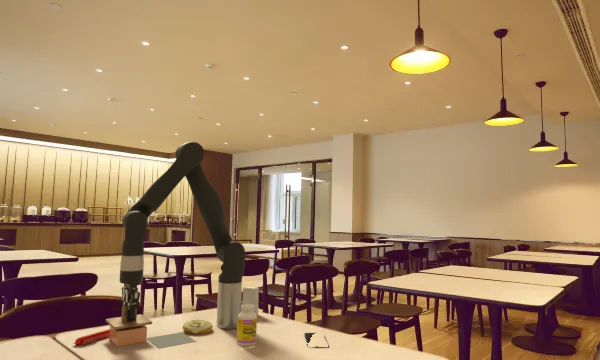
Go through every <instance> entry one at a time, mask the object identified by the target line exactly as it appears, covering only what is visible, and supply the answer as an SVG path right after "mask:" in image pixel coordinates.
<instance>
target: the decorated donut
mask: <svg viewBox="0 0 600 360" xmlns="http://www.w3.org/2000/svg"><path fill="white" fill-rule="evenodd" d="M213 328H214V327H213V323H212V322H211V321H208V320H206V319H205V320H204V319H191V320H190V321H186V322H184V323H183V324H182V329H183V333H184V334H186V335H187V334H188V335H206V334H207V335H208V334H209V333H210V332H212V331H213V330H212V329H213Z"/></svg>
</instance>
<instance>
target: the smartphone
mask: <svg viewBox="0 0 600 360" xmlns="http://www.w3.org/2000/svg"><path fill="white" fill-rule="evenodd" d="M315 333H316V332H305V333H303V336H304V335H305V336H304V339H306V340H305V343H306V342H307V343H309V342H310V340H311V339H310V338H311V337H312V335H313V334H315ZM307 346H308V344H306V347H307Z"/></svg>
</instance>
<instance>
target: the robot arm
mask: <svg viewBox="0 0 600 360" xmlns="http://www.w3.org/2000/svg"><path fill="white" fill-rule="evenodd" d="M174 156H175V157H174V158H175V160H174V161H173V163H172V164H171V166H169V168H168V169H167V170H166V171H165V172H164V173H163V174H162V175H161V176H160V177H158V178H157V179H156V180H155V181H154V182H153V183H152V184H151V185H150V187H148V189H147V190H146V191H145V192H144V193H143V194H142V196H141V198H140V199H139V200H138V201H137V202H136V203H134V205H133V206H132V207H131V208H129V210H128V211H127V212H126V213H125V214H124V216H123V218H122V225H123V227H124V228H125V230H124V231H125V232H124V240H122V241H123V242H122V247H121V259H120V268H119V279H118V280H119V283H120V284H122V285H123V284H124V286H122V287H121V301H122V305H128V315H127V320H128V321H133V320H134V319H135V309H136V308H137V309H138V307H139V302H140V298H141V297H140V296H141V292H140V291H139V288H138V284H140V283H142V282H143V280H144V268H145V260H144V257H145V256H144V254H145V239H146V233H147V227H148V218H149V217H150V216H151V215H152V213H153V214H154V212H156V211H157V210H158V209H159V208H160V207H161V206H162V204H163V203H164V202H165V201H166V199H167V198H168V197H169V196H170V195H171V193H173V191H174V190H175V189H176V187H177V186H178V184H180V183H181V181H182V180H183V179H184V178H185V179H186V180H187V184H188V185H189V189H190V191H191V194H192V196H193V198H194V200H195V204H196V206H197V208H198V211H199V213H200V215H201V218H202V220H203V222H204V223H205V224H204V225H205V226H206V228H207V231H208V232H209V234H210V237H211V241H212V244H213V247H214V251H215V253H216V257H217V258H218V260H219V261H220V262H222V271H221V273H220V274H218V279H217V280H218V283H217V285H218V286H217V303H216V304H217V309H216V327H217V328H220V329H222V330H234V329H237V322H238V314H239V313H240V312H241V311H242V310H241V305H243V300H242V294H243V288H242V287H243V276H244V274H245V265H246V263H245V262H246V249H245V246H244V245H243V243H241V242H238V241H234V240H233V238H232V236H231V233H230V232H229V230H228V226H227V222H226V212H225V207H224V203H223V201H222V198H221V197H220V194H219V193H218V191H217V189H216V187H214V185H213V184H212V183H211V181H210V180H209V179H208V178H207V175H206V174H205V172H204V170H203V167H202V164H201V162H202V161H203V160H204V157H205V149H204V147H203V146H202V145H201V144H200V143H199V142H196V141H188V142H185V143H182V144H180V145H179V146H178V147H177V148H176V149H175V154H174ZM132 304H134V305H132Z"/></svg>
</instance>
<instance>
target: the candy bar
mask: <svg viewBox="0 0 600 360" xmlns="http://www.w3.org/2000/svg"><path fill="white" fill-rule="evenodd" d="M109 336H110V328H108V329H103V330H101V331H96V332H93V333H90V334H86V335H83V336H79V337H77V338H76V339H75V342H73V343H72V344H73V345H75V346H82V345H86V344H91V343H94V342H97V341H101V340H104V339H106V338H109Z"/></svg>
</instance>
